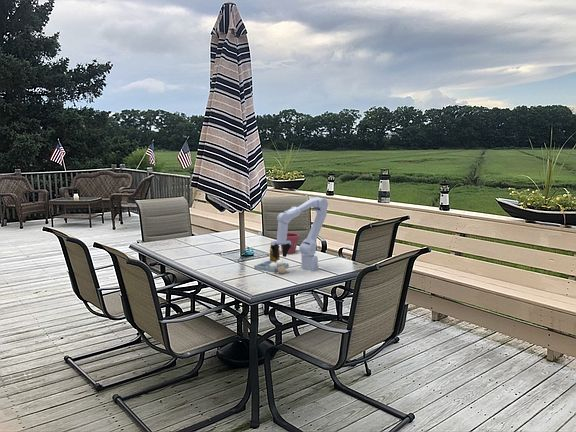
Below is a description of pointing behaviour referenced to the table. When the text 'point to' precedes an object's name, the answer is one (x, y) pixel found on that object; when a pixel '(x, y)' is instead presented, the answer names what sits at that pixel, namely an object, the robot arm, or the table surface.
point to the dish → (281, 274)
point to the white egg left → (273, 265)
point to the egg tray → (265, 266)
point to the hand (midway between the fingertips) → (279, 257)
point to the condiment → (274, 257)
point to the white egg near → (279, 262)
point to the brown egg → (281, 269)
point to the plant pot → (292, 242)
